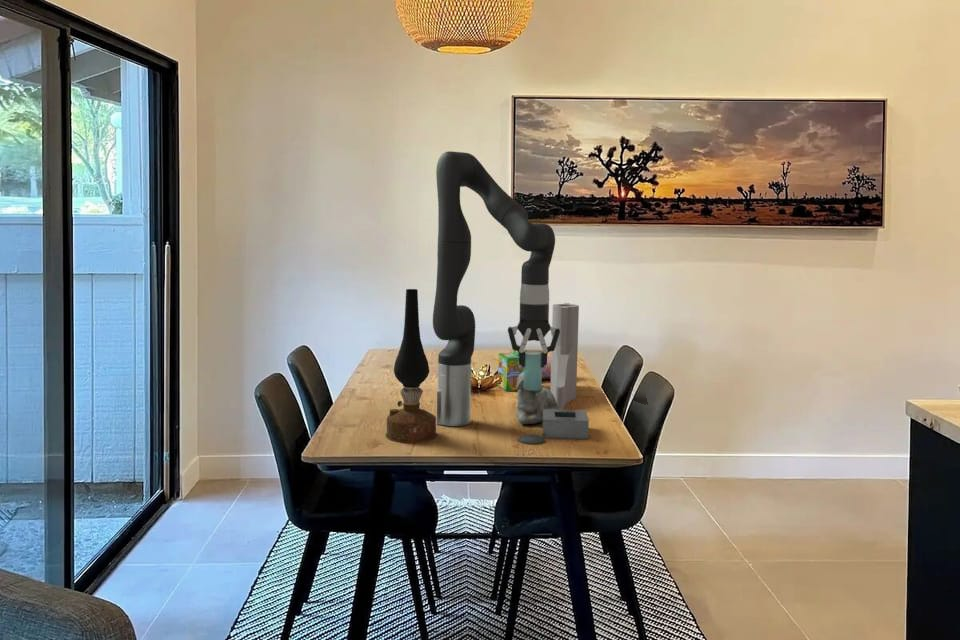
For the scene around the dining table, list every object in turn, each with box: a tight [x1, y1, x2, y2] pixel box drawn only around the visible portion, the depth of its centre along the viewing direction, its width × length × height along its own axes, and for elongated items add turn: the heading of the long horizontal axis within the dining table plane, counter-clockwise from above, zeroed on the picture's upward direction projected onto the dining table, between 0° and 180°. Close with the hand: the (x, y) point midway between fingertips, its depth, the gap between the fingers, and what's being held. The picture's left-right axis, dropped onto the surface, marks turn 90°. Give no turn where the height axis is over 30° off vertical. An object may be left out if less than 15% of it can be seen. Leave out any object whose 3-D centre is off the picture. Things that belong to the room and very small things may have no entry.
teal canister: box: [524, 348, 543, 390], centre depth 221 cm, size 5×5×10 cm
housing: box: [541, 408, 590, 440], centre depth 231 cm, size 12×12×5 cm
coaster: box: [517, 434, 546, 445], centre depth 223 cm, size 7×7×1 cm
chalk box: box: [497, 344, 524, 392], centre depth 286 cm, size 9×9×15 cm
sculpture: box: [515, 372, 558, 425], centre depth 246 cm, size 11×21×15 cm, turn 168°
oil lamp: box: [385, 288, 438, 444], centre depth 224 cm, size 14×15×40 cm
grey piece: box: [549, 302, 580, 409], centre depth 272 cm, size 36×8×30 cm, turn 171°
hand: (533, 366), depth 220 cm, fingers closed on teal canister, 4 cm apart
